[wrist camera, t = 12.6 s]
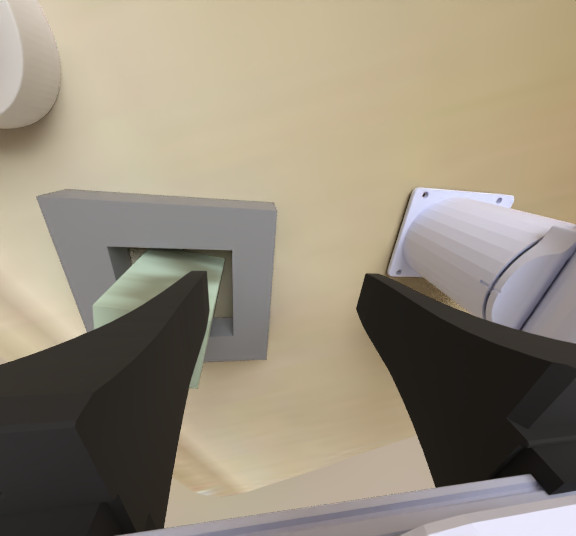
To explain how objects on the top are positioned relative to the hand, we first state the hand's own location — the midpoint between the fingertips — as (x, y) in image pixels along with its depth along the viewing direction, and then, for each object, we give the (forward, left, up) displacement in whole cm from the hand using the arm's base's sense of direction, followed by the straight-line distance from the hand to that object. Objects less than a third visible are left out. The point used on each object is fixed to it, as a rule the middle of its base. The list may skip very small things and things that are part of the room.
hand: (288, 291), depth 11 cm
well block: (+7, +5, -9) cm, 13 cm away
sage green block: (+7, +5, -10) cm, 13 cm away
